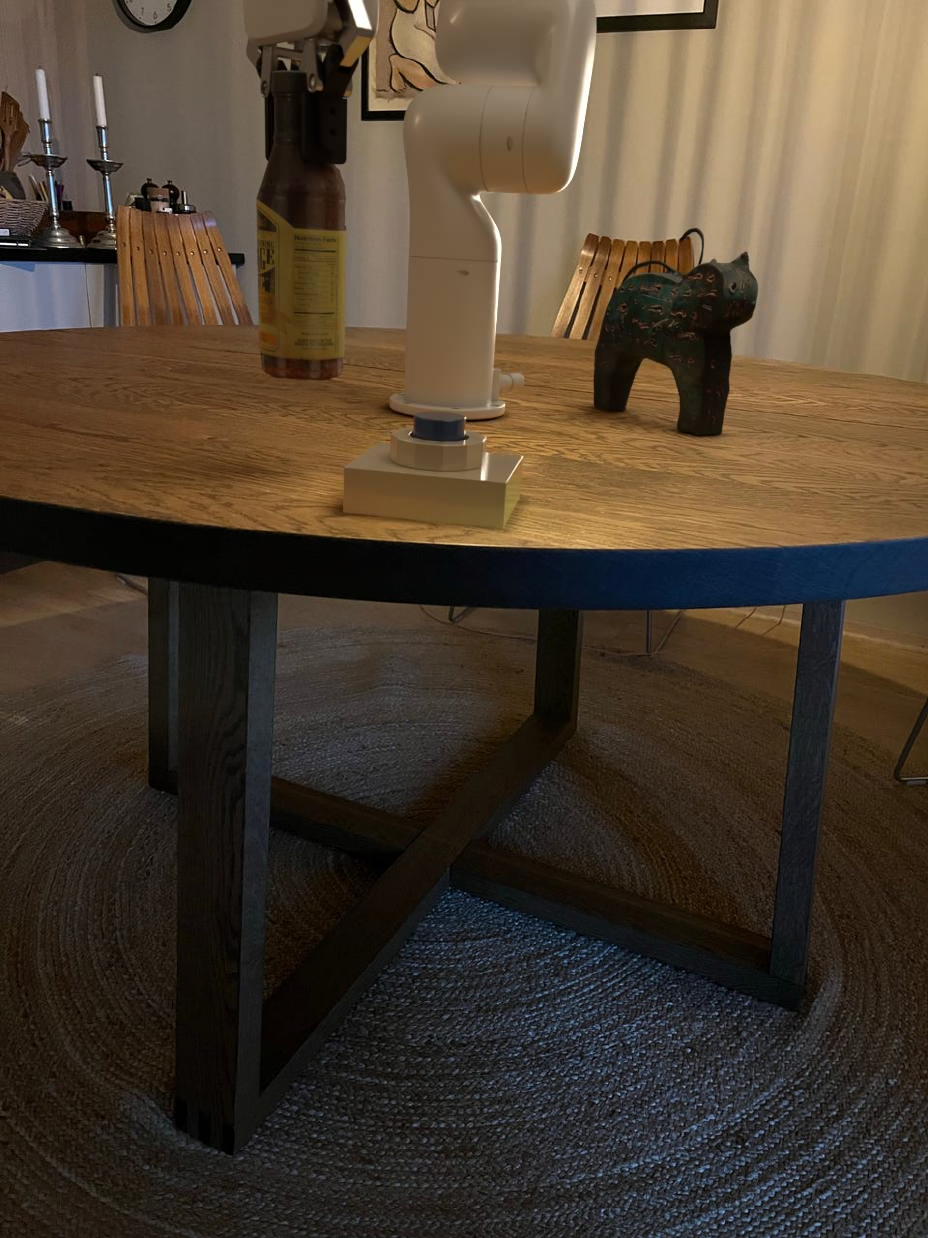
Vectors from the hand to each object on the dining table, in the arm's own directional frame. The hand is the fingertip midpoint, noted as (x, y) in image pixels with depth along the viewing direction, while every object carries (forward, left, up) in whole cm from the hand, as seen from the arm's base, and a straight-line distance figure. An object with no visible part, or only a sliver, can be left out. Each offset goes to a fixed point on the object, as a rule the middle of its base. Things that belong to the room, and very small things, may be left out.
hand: (305, 159), depth 68 cm
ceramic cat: (-48, -6, -22) cm, 53 cm away
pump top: (-4, +11, -18) cm, 21 cm away
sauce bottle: (0, 0, -15) cm, 15 cm away
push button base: (-4, +11, -22) cm, 25 cm away
